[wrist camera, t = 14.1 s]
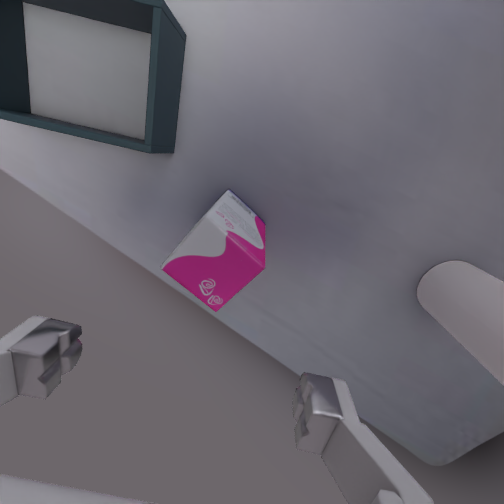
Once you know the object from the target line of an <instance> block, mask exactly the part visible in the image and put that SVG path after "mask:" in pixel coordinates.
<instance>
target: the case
mask: <svg viewBox="0 0 504 504" xmlns="http://www.w3.org/2000/svg"><path fill="white" fill-rule="evenodd" d="M21 1H23V2H27V3H31V4H35V5H39V6H43V7H47V8H51V9H55V10H59V11H63V12H67V13H71V14H75V15H79V16H83V17H87V18H91V19H95V20H99V21H103V22H107V23H111V24H115V25H119V26H123V27H127V28H131V29H135V30H139V31H143V32H147V33H151V50H150V65H149V80H148V96H147V111H146V126H145V140H141V139H137V138H132V137H128V136H124V135H120V134H115V133H111V132H107V131H102V130H98V129H94V128H90V127H85V126H81V125H77V124H72V123H68V122H64V121H60V120H55V119H51V118H47V117H42V116H38V115H34V114H30V113H31V112H30V100H29V87H28V74H27V61H26V48H25V35H24V22H23V9H22V2H21ZM185 41H186V34H185V32H184V31H183V29H182V27H181V26H180V24H179V23H178V21H177V20H176V18H175V17H174V15H173V14H172V12H171V11H170V9H169V8H168V6H167V4H166V3H165V1H164V0H0V119H4V120H8V121H13V122H17V123H21V124H25V125H30V126H34V127H38V128H43V129H47V130H51V131H56V132H60V133H64V134H69V135H73V136H77V137H82V138H86V139H90V140H95V141H99V142H103V143H108V144H112V145H116V146H121V147H125V148H129V149H133V150H138V151H142V152H146V153H174V147H175V138H176V128H177V118H178V109H179V99H180V90H181V80H182V70H183V61H184V51H185Z"/></svg>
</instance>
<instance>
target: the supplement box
mask: <svg viewBox="0 0 504 504" xmlns="http://www.w3.org/2000/svg"><path fill="white" fill-rule="evenodd" d="M160 268H161V269H162V270H163V271H164V272H166V273H167V274H168V275H170V276H171V277H172V278H173V279H175V280H176V281H177V282H178V283H180V284H181V285H182V286H183V287H185V288H186V289H187V290H189V291H190V292H191V293H192V294H194V295H195V296H196V297H197V298H199V299H200V300H201V301H202V302H204V303H205V304H206V305H208V306H209V307H210V308H211V309H213V310H214V311H215V312H217V311H218V310H219V309H220V308H221V307H222V306H223V305H224V304H226V303H227V302H228V301H229V300H230V299H231V298H232V297H233V296H234V295H235V294H236V293H238V292H239V291H240V290H241V289H242V288H243V287H244V286H246V285H247V284H248V283H249V282H250V281H251V280H252V279H253V278H255V277H256V276H257V275H258V274H259V273H260V272H261V271H262V270H264V269H265V223H264V221H263V220H262V219H261V218H260V217H259V216H258V215H257V214H256V213H254V212H253V211H252V210H251V209H250V208H249V207H248V206H247V205H246V204H245V203H244V202H243V201H242V200H241V199H240V198H239V197H238V196H236V195H235V194H234V193H233V192H232V191H231V190H230V189H228V190H227V191H226V192H225V193H224V194H223V195H222V196H221V197H220V198H219V199H218V200H217V201H216V203H215V204H214V205H213V206H212V207H211V208H210V209H209V210H208V211H207V212H206V214H205V215H204V216H203V217H202V218H201V219H200V220H199V221H198V222H197V224H196V225H195V226H194V227H193V228H192V229H191V231H190V232H189V233H188V234H187V235H186V236H185V238H184V239H183V240H182V241H181V242H180V243H179V245H178V246H177V247H176V248H175V249H174V251H173V252H172V253H171V254H170V255H169V256H168V258H167V259H166V260H165V261H164V262H163V264H162V265H161V266H160Z"/></svg>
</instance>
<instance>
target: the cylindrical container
mask: <svg viewBox="0 0 504 504" xmlns="http://www.w3.org/2000/svg"><path fill="white" fill-rule="evenodd" d="M417 298H418V301H419V303H420V304H421V306H422V307H423V308H424V309H425V310H426V311H427V312H428V313H429V314H430V315H431V316H432V317H433V318H435V319H436V320H437V321H438V322H439V323H440V324H441V325H442V326H443V327H444V328H445V329H446V330H447V331H448V332H449V333H450V334H451V335H452V336H453V337H454V338H455V339H456V340H457V341H458V342H459V343H460V344H461V345H462V346H463V347H464V348H465V349H466V350H467V351H468V352H470V353H471V354H472V355H473V356H474V357H475V358H476V359H477V360H478V361H479V362H480V363H481V364H482V365H483V366H484V367H485V368H486V369H487V370H488V371H489V372H490V373H491V374H492V375H493V376H494V377H495V378H496V379H497V380H498V381H499V382H500V383H501V384H502V385H504V282H503V281H501V280H499V279H497V278H496V277H494V276H492V275H490V274H488V273H486V272H484V271H483V270H481V269H479V268H477V267H475V266H473V265H471V264H470V263H467V262H464V261H458V260H456V261H447V262H443V263H441V264H438V265H436V266H435V267H433V268H431V269H430V270H429V271H428V272H427V273H426V274H425V275H424V276H423V277H422V279H421V280H420V282H419V285H418V288H417Z"/></svg>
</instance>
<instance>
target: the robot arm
mask: <svg viewBox="0 0 504 504" xmlns="http://www.w3.org/2000/svg"><path fill="white" fill-rule="evenodd" d="M81 334H82V331H81V326H79V325H77V324H73V323H68V322H64V321H60V320H55V319H50V318H45V317H42V316H38V315H37V316H32V317H30V318H29V319H28V320H26V321H25V322H23V323H22V324H20V325H19V326H17V327H16V328H15V329H13V330H12V331H11V332H9V333H8V334H6V335H5V336H4V337H2V338H1V339H0V406H2V405H4V404H6V403H7V402H9V401H11V400H13V399H14V398H16V397H18V395H23V396H29V397H35V398H41V399H46V398H47V397H48V396H49V395H50V394H51V393H52V392H53V390H54V389H55V388H56V387H57V386H58V385H59V384H60V383H61V375H63V374H66V373H67V372H70V371H71V370H72V369H73V368H74V366H75V365H76V364H77V362H78V360H79V358H80V356H81V352H82V343H81V342H80V340H79V339H78V337H79V336H80V335H81ZM300 385H301V386H299V387H298V388H296V391H295V393H294V398H293V417H294V418H295V420H296V421H297V424H296V427H295V429H294V430H295V439H296V448H297V450H301V451H305V452H310V453H314V454H318V455H321V458H322V459H323V461H324V463H325V465H326V466H327V468H328V470H329V472H330V473H331V475H332V477H333V478H334V480H335V482H336V483H337V485H338V487H339V489H340V491H341V492H342V494H343V496H344V498H345V499H346V501H347V502H348V504H434V502H433V500H432V498H431V497H430V496H429V495H428V494H427V493H426V491H425V490H424V489H423V488H422V487H421V486H420V485H419V484H418V483H417V482H416V480H415V479H414V478H413V477H412V476H411V475H410V474H409V473H408V472H407V470H406V469H405V468H404V467H403V466H402V465H401V464H400V463H399V462H398V460H397V459H396V458H395V457H394V456H393V455H392V454H391V453H390V452H389V450H388V449H387V448H386V447H385V446H384V445H383V444H382V443H381V442H380V441H379V439H378V438H377V437H376V436H375V435H374V434H373V433H372V432H371V431H370V430H369V428H368V427H367V426H366V425H365V424H362V423H360V421H359V418H358V415H357V412H356V409H355V406H354V403H353V400H352V398H351V395H350V392H349V389H348V386H347V383H346V382H345V380H342V379H337V378H332V377H326V376H321V375H316V374H311V373H306V372H304V373H303V374H302V375H301V378H300ZM0 504H157V503H152V502H146V501H141V500H136V499H130V498H125V497H119V496H114V495H109V494H104V493H98V492H93V491H88V490H83V489H77V488H72V487H66V486H61V485H56V484H51V483H45V482H40V481H34V480H29V479H24V478H19V477H14V476H8V475H3V474H0Z"/></svg>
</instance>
